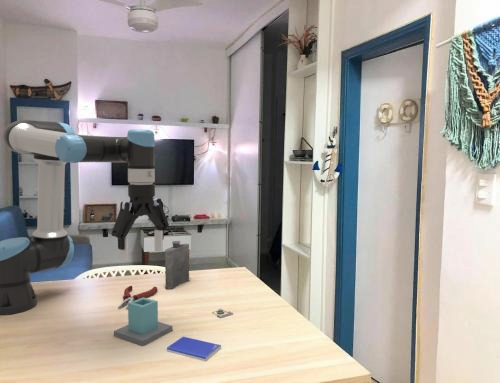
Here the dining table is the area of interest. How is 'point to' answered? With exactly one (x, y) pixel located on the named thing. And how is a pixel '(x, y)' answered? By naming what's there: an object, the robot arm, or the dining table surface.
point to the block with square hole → (142, 315)
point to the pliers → (136, 296)
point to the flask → (176, 265)
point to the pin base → (143, 338)
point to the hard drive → (194, 348)
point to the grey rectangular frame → (222, 313)
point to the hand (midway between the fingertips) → (142, 255)
